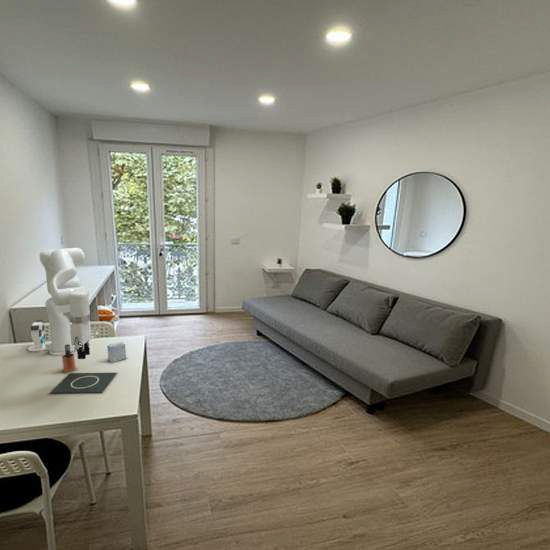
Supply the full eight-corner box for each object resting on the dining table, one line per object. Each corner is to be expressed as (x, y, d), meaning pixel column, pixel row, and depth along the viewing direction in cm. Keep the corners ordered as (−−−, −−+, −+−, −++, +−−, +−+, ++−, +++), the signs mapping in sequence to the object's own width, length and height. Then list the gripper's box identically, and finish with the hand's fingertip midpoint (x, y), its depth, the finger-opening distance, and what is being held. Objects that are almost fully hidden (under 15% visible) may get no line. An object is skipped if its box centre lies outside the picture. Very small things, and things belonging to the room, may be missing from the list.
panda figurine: (48, 350, 199) (45, 325, 196) (24, 352, 195) (21, 327, 192) (53, 342, 210) (50, 318, 207) (30, 344, 206) (27, 320, 203)
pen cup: (61, 373, 174) (60, 358, 172) (66, 368, 179) (65, 353, 178) (72, 372, 175) (71, 357, 173) (77, 368, 180) (76, 353, 178)
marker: (66, 370, 176) (63, 346, 173) (68, 368, 178) (65, 344, 175) (70, 370, 176) (68, 346, 173) (73, 368, 178) (70, 344, 175)
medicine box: (123, 356, 194) (122, 341, 193) (126, 358, 191) (125, 343, 190) (108, 360, 189) (107, 345, 187) (111, 363, 186) (110, 347, 184)
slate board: (50, 393, 156) (50, 392, 155) (69, 374, 173) (69, 373, 173) (101, 392, 158) (101, 391, 157) (116, 373, 175) (116, 372, 175)
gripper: (80, 312, 165) (83, 349, 169) (62, 325, 149) (66, 365, 152) (97, 312, 165) (99, 349, 169) (81, 325, 149) (84, 365, 153)
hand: (83, 356), depth 161 cm, fingers open, 3 cm apart
